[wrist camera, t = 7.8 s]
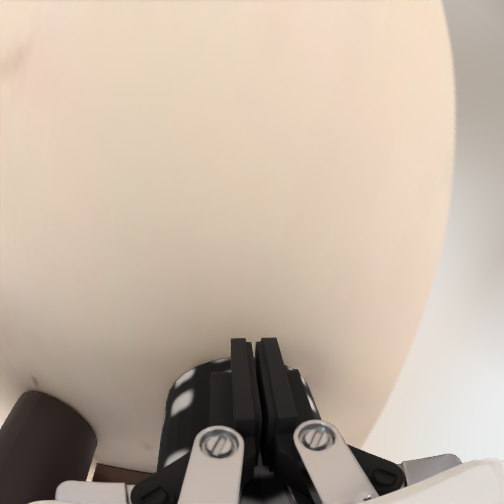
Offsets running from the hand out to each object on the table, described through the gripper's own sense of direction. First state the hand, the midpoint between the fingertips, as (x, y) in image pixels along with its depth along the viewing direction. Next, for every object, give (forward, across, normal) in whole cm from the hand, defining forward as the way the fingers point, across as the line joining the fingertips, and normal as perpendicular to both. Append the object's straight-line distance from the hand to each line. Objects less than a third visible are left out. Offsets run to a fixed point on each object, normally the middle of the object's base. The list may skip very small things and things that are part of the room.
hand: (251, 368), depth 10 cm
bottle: (+3, +14, +9) cm, 17 cm away
